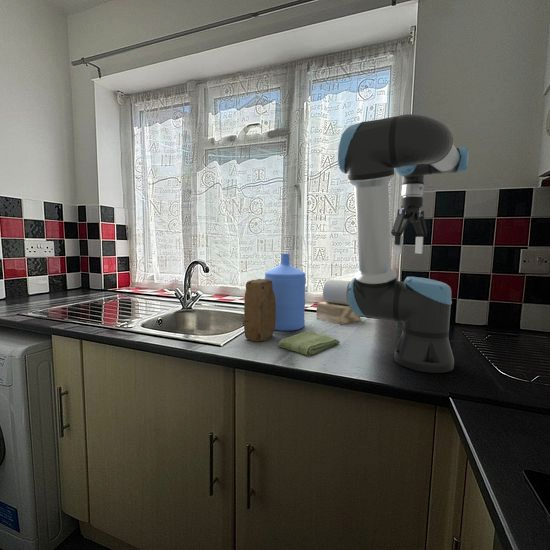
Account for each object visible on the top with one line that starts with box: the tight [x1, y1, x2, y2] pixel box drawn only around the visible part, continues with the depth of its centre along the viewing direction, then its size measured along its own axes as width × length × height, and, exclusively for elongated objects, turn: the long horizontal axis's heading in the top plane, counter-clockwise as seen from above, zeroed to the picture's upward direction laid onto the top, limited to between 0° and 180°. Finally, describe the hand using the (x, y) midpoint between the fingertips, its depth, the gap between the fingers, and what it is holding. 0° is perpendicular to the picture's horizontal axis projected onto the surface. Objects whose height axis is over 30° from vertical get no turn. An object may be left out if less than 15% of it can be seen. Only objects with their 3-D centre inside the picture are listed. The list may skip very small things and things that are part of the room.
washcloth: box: [278, 330, 340, 357], centre depth 106 cm, size 13×18×3 cm
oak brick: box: [315, 301, 361, 325], centre depth 142 cm, size 13×13×7 cm
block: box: [243, 278, 276, 342], centre depth 112 cm, size 11×8×20 cm
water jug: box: [264, 253, 307, 332], centre depth 128 cm, size 16×16×28 cm
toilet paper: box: [322, 278, 351, 305], centre depth 141 cm, size 10×10×10 cm
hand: (408, 253), depth 127 cm, fingers open, 13 cm apart
